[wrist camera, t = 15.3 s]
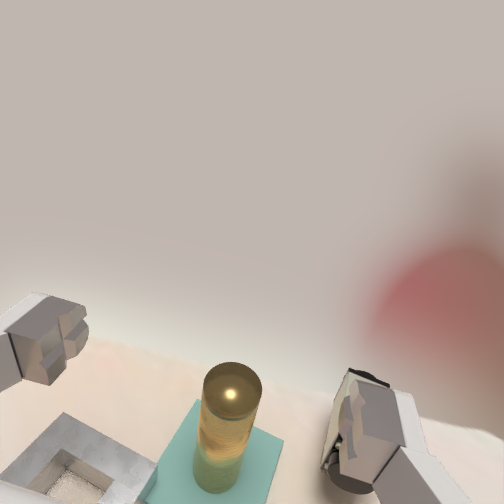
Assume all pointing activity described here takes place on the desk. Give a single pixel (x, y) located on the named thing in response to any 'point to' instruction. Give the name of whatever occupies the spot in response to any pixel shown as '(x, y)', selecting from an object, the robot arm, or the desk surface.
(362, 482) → the pneumatic valve
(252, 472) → the pad
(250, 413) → the brass cylinder
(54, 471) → the housing
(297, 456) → the desk surface
